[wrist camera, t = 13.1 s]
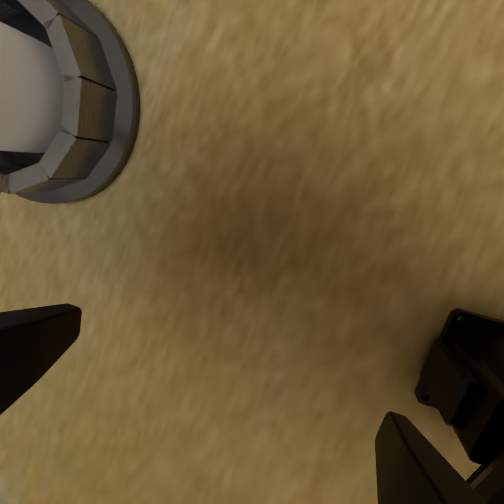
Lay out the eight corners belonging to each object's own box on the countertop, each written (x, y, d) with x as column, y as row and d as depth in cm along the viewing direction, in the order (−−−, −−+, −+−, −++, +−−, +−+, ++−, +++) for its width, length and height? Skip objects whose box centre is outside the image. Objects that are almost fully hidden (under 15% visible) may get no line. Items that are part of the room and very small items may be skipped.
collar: (153, 4, 18) (102, -49, 14) (125, 223, 22) (77, 235, 17) (-37, -32, 20) (-138, -90, 16) (-34, 176, 23) (-115, 177, 19)
